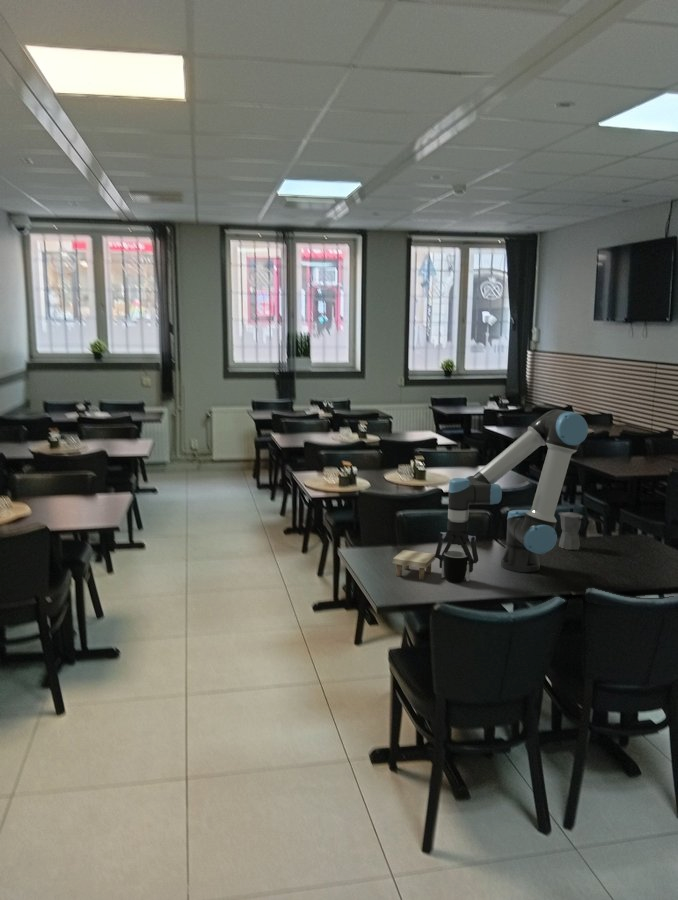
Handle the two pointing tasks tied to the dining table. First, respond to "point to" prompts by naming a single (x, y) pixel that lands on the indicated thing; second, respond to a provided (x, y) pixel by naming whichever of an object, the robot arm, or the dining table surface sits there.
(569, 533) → the coffeepot
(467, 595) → the dining table surface
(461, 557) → the mug
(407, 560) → the footstool
